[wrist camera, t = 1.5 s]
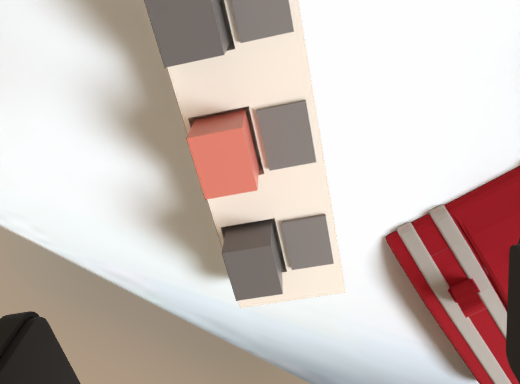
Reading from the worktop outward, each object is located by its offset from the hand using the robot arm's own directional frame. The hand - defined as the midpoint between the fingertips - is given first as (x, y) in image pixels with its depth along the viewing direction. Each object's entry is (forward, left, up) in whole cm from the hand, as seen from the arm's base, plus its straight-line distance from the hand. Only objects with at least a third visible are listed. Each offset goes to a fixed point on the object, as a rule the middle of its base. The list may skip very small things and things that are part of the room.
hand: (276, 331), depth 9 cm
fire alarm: (+21, +17, -24) cm, 36 cm away
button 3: (+12, -4, -20) cm, 24 cm away
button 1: (-4, -4, -20) cm, 21 cm away
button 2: (+4, -4, -20) cm, 21 cm away
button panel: (+1, -2, -23) cm, 23 cm away
